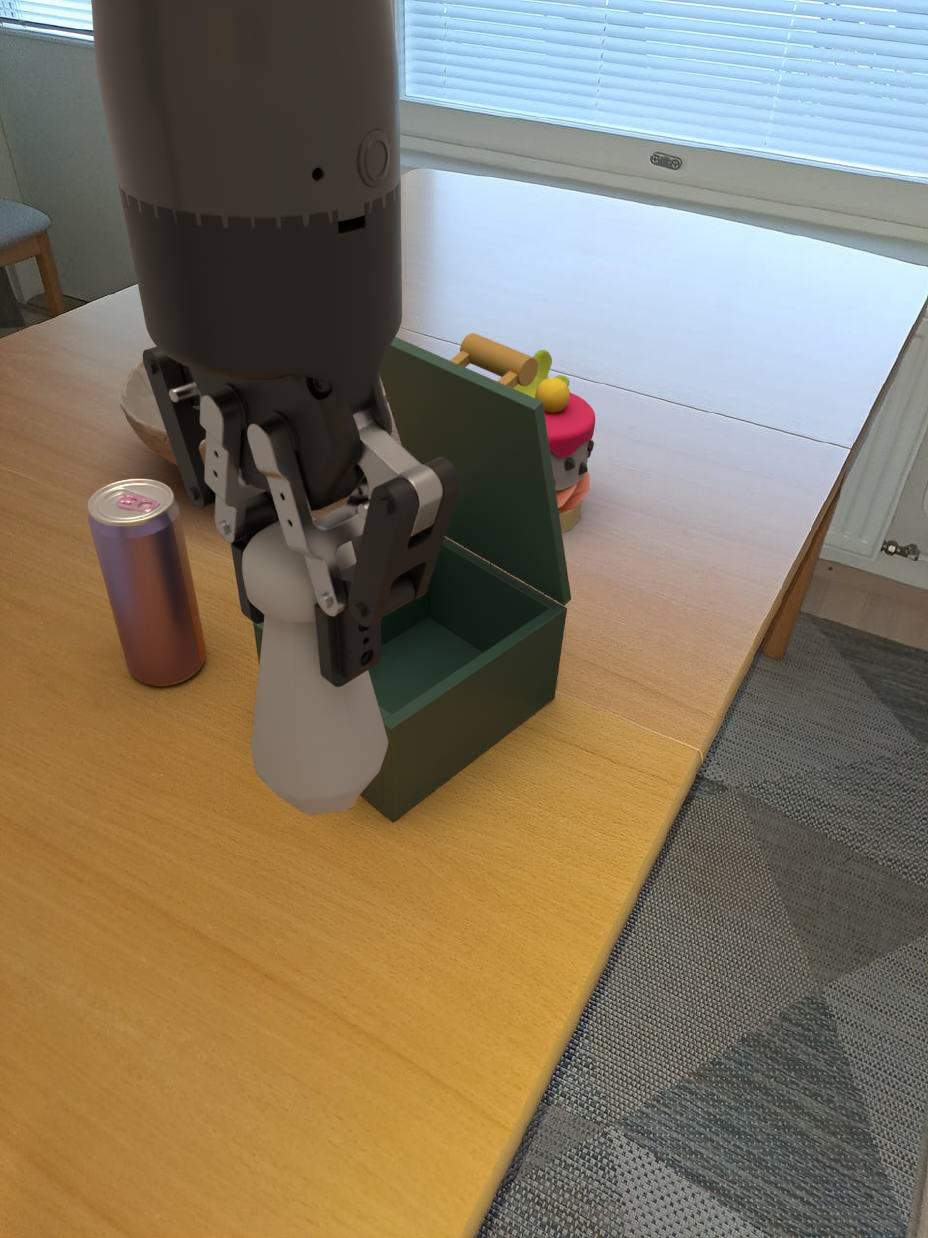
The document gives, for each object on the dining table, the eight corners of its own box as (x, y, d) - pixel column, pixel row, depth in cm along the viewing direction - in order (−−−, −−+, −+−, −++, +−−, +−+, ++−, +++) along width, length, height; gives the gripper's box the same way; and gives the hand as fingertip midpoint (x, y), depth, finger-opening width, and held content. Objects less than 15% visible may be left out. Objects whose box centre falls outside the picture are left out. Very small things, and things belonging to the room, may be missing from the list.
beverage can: (180, 698, 68) (143, 531, 59) (112, 678, 70) (65, 512, 60) (222, 649, 73) (193, 486, 63) (156, 631, 74) (119, 469, 65)
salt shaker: (400, 818, 39) (396, 576, 31) (266, 846, 38) (224, 601, 30) (373, 722, 44) (362, 488, 35) (251, 745, 42) (211, 506, 34)
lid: (534, 409, 50) (593, 356, 52) (366, 334, 57) (423, 290, 59) (564, 606, 64) (610, 559, 65) (426, 526, 71) (471, 485, 73)
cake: (605, 511, 90) (627, 368, 81) (535, 553, 84) (550, 404, 75) (526, 471, 96) (538, 333, 86) (455, 508, 90) (460, 363, 80)
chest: (393, 823, 60) (391, 729, 54) (266, 715, 67) (252, 622, 62) (555, 698, 70) (567, 607, 64) (428, 615, 77) (430, 527, 71)
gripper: (5, 133, 26) (126, 600, 37) (318, 261, 19) (354, 798, 30) (226, 102, 30) (276, 529, 41) (553, 196, 23) (509, 687, 34)
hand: (309, 639), depth 35 cm, fingers closed on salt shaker, 4 cm apart
